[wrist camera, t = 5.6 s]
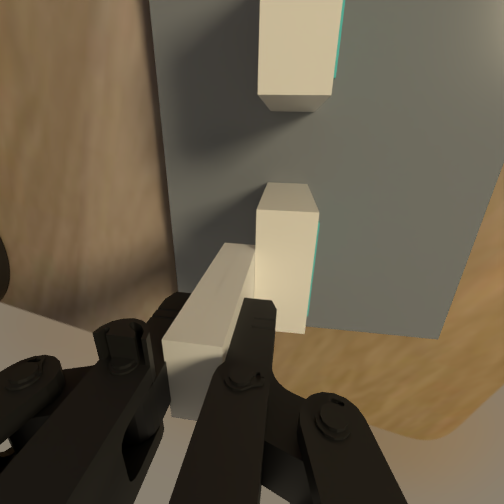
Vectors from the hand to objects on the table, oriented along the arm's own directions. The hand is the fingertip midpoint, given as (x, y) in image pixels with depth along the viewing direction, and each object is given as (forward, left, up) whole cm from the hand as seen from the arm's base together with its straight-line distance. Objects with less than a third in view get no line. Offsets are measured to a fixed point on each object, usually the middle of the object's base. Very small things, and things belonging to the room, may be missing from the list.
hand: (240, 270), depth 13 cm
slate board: (+5, -2, -8) cm, 10 cm away
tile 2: (+1, -2, -6) cm, 7 cm away
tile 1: (+10, +3, -6) cm, 12 cm away
